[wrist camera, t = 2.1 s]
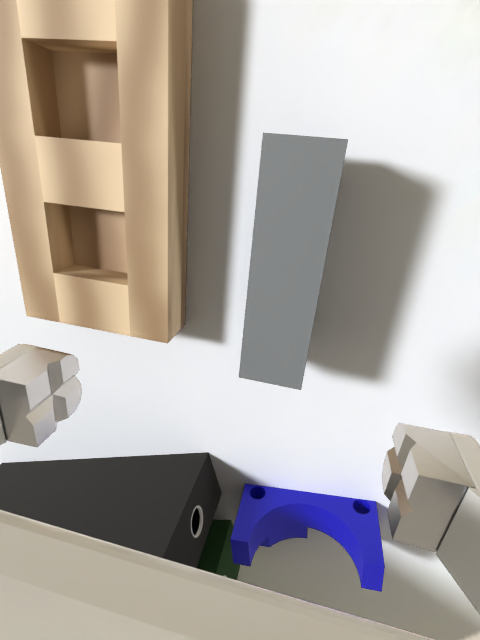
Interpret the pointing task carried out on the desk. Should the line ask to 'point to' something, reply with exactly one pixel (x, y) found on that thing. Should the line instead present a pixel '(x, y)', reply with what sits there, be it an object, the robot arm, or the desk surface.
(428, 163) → the desk surface
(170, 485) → the binder
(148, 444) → the desk surface
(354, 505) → the blue arch block
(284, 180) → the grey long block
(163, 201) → the socket block
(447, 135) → the desk surface
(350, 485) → the desk surface
